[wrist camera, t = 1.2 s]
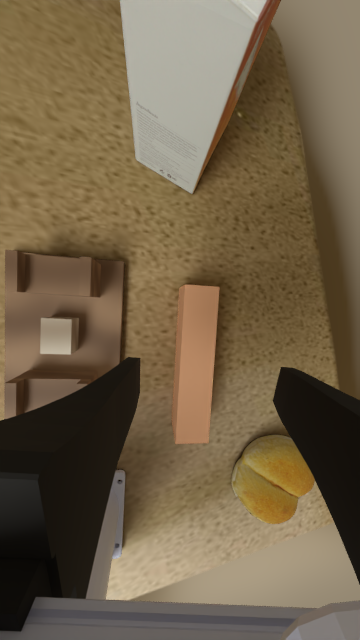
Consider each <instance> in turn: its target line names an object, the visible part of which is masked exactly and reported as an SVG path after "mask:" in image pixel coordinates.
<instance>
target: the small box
mask: <svg viewBox="0 0 360 640" xmlns="http://www.w3.org/2000/svg"><path fill="white" fill-rule="evenodd" d="M280 1H281V0H120V7H121V17H122V26H123V37H124V46H125V56H126V66H127V76H128V86H129V95H130V104H131V114H132V124H133V135H134V145H135V157H136V160H137V161H139V162H141V163H142V164H144V165H145V166H147V167H149V168H150V169H152V170H153V171H155V172H157V173H158V174H160V175H162V176H163V177H165V178H166V179H168V180H170V181H171V182H173V183H175V184H176V185H178V186H180V187H181V188H183V189H185V190H186V191H188V192H189V193H191V194H193V193H194V191H195V188H196V186H197V184H198V182H199V180H200V177H201V175H202V173H203V171H204V169H205V167H206V165H207V163H208V161H209V159H210V157H211V155H212V153H213V151H214V149H215V147H216V145H217V144H218V142H219V140H220V138H221V136H222V134H223V132H224V130H225V128H226V126H227V125H228V123H229V120H230V118H231V116H232V113H233V111H234V108H235V106H236V104H237V101H238V99H239V97H240V94H241V92H242V90H243V87H244V85H245V83H246V80H247V78H248V75H249V73H250V70H251V68H252V66H253V64H254V61H255V59H256V57H257V55H258V52H259V50H260V48H261V45H262V43H263V41H264V38H265V36H266V33H267V31H268V29H269V26H270V24H271V22H272V19H273V17H274V15H275V13H276V10H277V8H278V6H279V3H280Z"/></svg>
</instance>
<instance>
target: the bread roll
mask: <svg viewBox="0 0 360 640" xmlns="http://www.w3.org/2000/svg"><path fill="white" fill-rule="evenodd" d="M314 480H315V479H314V477H313V475H312V473H311V471H310V469H309V467H308V466H307V464H306V462H305V460H304V459H303V457H302V455H301V454H300V452H299V450H298V448H297V447H296V445H295V443H294V442H293V440H292V438H290V437H287V436H283V435H269V436H264V437H260V438H257V439H256V440H254V441H253V442H251V443H250V444H249V445H248V446H247V448H246V449H245V450H244V452H243V454H242V457H241V458H240V459H239V460H238V461H237V462H236V464H235V467H234V470H233V473H232V480H231V484H232V488H233V491H234V493H235V495H236V496H237V497H239V498H240V501H241V502H242V503H243V505H244V506H245V508H246V509H247V510H248V511H249V512H250V514H251V515H253V516H255V517H256V518H258V519H259V520H261V521H262V522H266V523H270V524H279V523H282V522H285V521H287V520H289V519H290V518H291V517H292V516H293V515H294V513H295V511H296V508H297V502H298V497H300V496H302V495H305V494H306V493H308V492H309V491H310V490H311V489H312V487H313V485H314Z"/></svg>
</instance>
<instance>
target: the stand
mask: <svg viewBox="0 0 360 640" xmlns="http://www.w3.org/2000/svg"><path fill="white" fill-rule="evenodd" d="M124 269H125V263H124V261H113V260H102V259H93V258H92V257H83V256H80V258H79V257H68V256H56V255H45V254H33V253H22V252H19V251H14V250H5V419H8V418H11V417H14V416H17V415H20V414H23V413H26V412H28V411H31V410H34V409H37V408H39V407H42V406H44V405H47V404H49V403H51V402H54V401H56V400H58V399H61V398H63V397H65V396H67V395H69V394H71V393H73V392H75V391H77V390H79V389H81V388H83V387H85V386H86V385H88V384H90V383H91V382H93V381H94V380H96V379H98V378H99V377H101V376H102V375H104V374H105V373H107V372H108V371H110V370H111V369H113V368H114V367H115V366H117V365H118V364H119V363H121V340H122V316H123V293H124Z"/></svg>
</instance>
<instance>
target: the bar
mask: <svg viewBox="0 0 360 640" xmlns="http://www.w3.org/2000/svg"><path fill="white" fill-rule="evenodd" d="M219 288H220V287H214V286H200V285H186V284H185V285H183V286H182V287H180V288H179V302H178V320H177V337H176V354H175V371H174V389H173V406H172V426H173V432H174V438H175V444H194V443H209V429H210V415H211V401H212V387H213V372H214V358H215V344H216V330H217V316H218V302H219Z"/></svg>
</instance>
